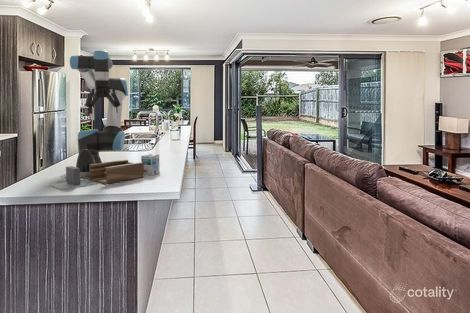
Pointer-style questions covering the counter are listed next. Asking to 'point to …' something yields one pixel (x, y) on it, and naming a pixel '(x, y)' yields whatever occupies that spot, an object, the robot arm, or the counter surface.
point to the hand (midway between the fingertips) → (103, 119)
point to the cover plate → (68, 186)
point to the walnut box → (116, 171)
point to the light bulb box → (150, 164)
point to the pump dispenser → (84, 162)
